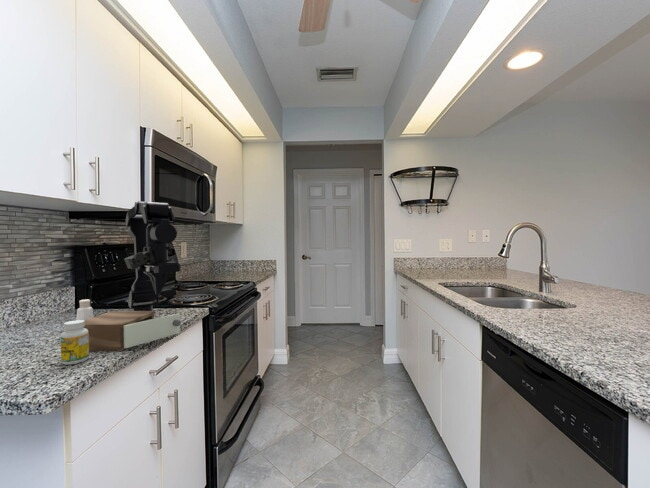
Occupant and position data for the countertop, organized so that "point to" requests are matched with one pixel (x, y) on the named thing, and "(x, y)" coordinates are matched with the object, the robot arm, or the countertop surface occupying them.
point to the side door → (151, 330)
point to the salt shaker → (84, 310)
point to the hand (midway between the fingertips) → (157, 294)
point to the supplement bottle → (74, 343)
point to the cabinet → (112, 328)
